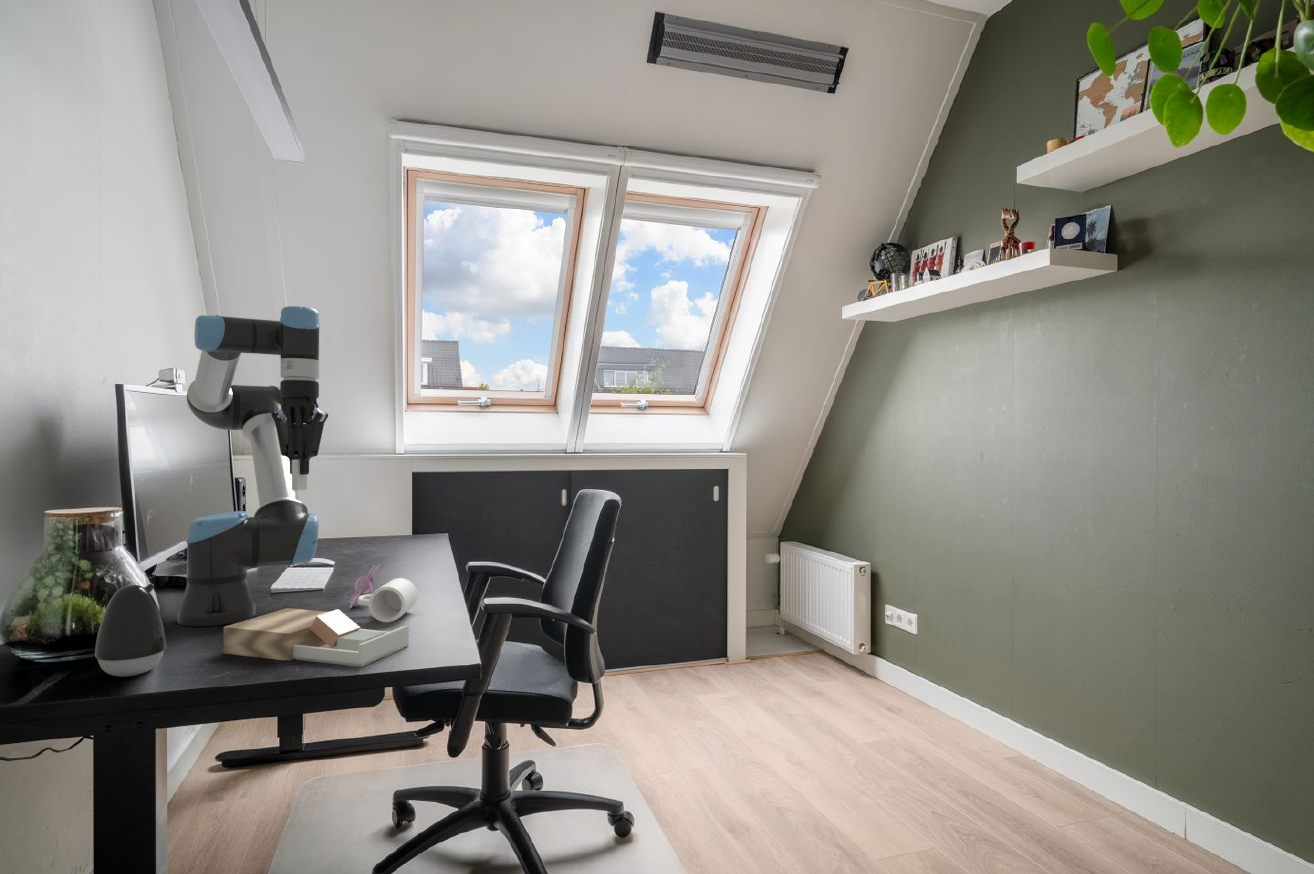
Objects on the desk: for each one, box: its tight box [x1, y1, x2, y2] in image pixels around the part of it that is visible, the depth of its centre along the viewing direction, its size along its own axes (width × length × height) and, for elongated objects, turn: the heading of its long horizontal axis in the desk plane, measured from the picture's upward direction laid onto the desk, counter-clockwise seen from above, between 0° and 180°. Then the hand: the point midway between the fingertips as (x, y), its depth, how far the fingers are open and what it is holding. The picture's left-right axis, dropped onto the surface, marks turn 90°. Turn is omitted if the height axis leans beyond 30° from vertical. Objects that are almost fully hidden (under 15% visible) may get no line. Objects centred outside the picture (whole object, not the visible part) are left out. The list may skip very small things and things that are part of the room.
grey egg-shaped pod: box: [94, 583, 167, 678], centre depth 133 cm, size 10×10×15 cm
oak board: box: [223, 607, 349, 662], centre depth 150 cm, size 15×16×5 cm
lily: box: [348, 564, 381, 609], centre depth 186 cm, size 12×12×10 cm
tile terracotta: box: [310, 608, 361, 648], centre depth 147 cm, size 6×6×3 cm
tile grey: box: [337, 630, 385, 651], centre depth 145 cm, size 6×6×3 cm
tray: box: [292, 625, 410, 668], centre depth 146 cm, size 15×14×4 cm
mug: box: [356, 577, 418, 623], centre depth 173 cm, size 12×10×8 cm
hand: (299, 489), depth 164 cm, fingers closed
